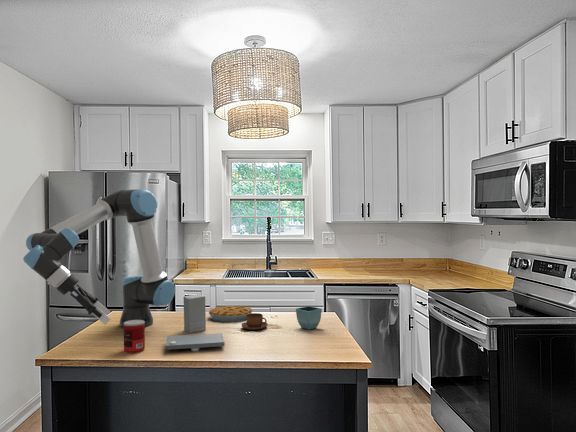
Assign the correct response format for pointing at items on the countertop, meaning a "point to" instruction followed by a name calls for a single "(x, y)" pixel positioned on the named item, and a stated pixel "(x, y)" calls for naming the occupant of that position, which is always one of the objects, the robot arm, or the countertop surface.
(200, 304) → the skincare box
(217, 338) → the plate
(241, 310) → the pie
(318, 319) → the flower pot
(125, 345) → the canned food
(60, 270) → the robot arm
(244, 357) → the countertop surface
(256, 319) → the cup and saucer
